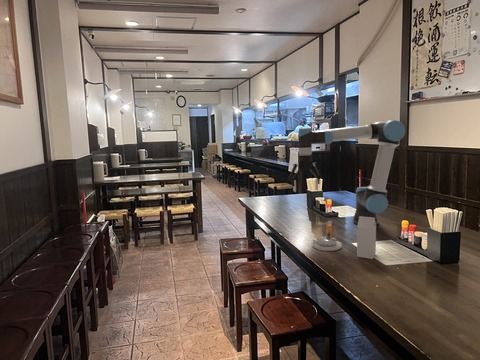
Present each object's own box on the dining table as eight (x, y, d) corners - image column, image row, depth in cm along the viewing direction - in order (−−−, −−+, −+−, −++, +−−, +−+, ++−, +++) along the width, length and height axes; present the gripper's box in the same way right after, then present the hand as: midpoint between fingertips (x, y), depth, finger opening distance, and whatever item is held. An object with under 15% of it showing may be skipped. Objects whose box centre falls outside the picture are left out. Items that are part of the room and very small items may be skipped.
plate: (343, 242, 185) (343, 237, 185) (339, 252, 172) (339, 246, 171) (315, 240, 191) (315, 235, 191) (309, 249, 178) (309, 243, 177)
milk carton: (372, 259, 161) (373, 219, 158) (356, 257, 165) (357, 218, 162) (375, 254, 167) (376, 216, 164) (360, 252, 171) (360, 214, 168)
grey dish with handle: (339, 239, 187) (339, 224, 186) (335, 247, 175) (335, 232, 173) (320, 237, 191) (320, 223, 190) (315, 245, 179) (315, 230, 178)
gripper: (323, 153, 207) (323, 188, 210) (282, 155, 204) (283, 191, 207) (328, 153, 200) (328, 190, 203) (286, 156, 196) (287, 193, 199)
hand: (305, 190), depth 205 cm, fingers open, 13 cm apart
